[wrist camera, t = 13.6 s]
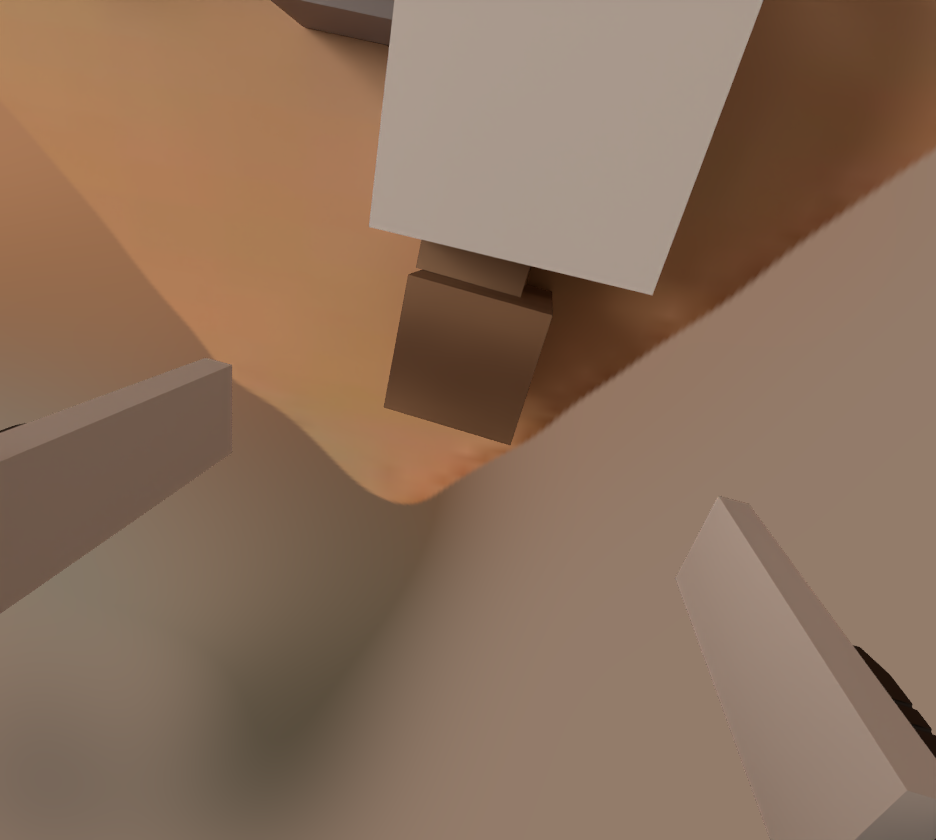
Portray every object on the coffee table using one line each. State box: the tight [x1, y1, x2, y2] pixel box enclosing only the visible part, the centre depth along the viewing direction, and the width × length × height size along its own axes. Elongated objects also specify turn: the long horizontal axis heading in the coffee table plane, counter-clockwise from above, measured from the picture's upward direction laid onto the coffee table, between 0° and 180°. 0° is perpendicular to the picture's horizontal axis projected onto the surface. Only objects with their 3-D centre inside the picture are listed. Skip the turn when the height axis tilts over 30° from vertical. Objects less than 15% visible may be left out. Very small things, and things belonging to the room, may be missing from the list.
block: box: [384, 270, 553, 445], centre depth 19 cm, size 5×5×6 cm
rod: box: [416, 240, 531, 298], centre depth 15 cm, size 17×4×4 cm, turn 166°
